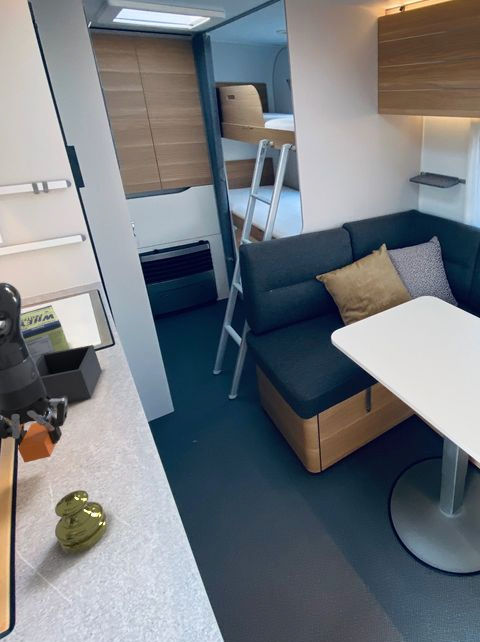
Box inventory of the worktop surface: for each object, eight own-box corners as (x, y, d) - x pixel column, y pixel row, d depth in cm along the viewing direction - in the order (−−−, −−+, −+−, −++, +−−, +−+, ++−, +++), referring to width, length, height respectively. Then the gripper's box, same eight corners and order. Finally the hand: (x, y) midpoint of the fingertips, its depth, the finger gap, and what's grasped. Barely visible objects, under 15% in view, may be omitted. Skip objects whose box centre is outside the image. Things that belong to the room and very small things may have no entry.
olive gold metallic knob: (66, 525, 79) (50, 489, 75) (111, 510, 82) (97, 474, 78) (57, 562, 73) (38, 525, 69) (105, 544, 76) (90, 507, 72)
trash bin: (36, 411, 108) (23, 381, 104) (52, 382, 119) (41, 354, 115) (91, 399, 112) (80, 370, 108) (102, 372, 123) (93, 344, 119)
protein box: (66, 345, 136) (51, 304, 130) (76, 365, 126) (60, 321, 120) (27, 358, 130) (9, 316, 124) (34, 381, 119) (15, 336, 113)
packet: (50, 456, 85) (44, 442, 84) (24, 462, 84) (17, 448, 82) (61, 432, 91) (55, 418, 90) (37, 437, 90) (31, 423, 88)
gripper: (63, 360, 86) (86, 423, 93) (-21, 376, 82) (9, 440, 88) (51, 382, 80) (76, 448, 86) (-41, 400, 75) (-7, 468, 82)
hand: (42, 443), depth 87 cm, fingers closed on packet, 4 cm apart
